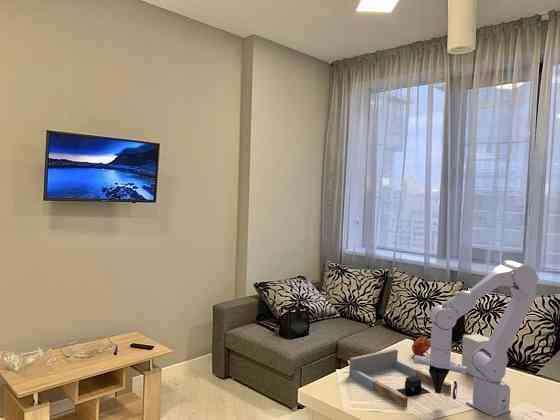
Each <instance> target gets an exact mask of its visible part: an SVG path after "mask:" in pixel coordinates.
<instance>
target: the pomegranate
mask: <svg viewBox="0 0 560 420" xmlns="http://www.w3.org/2000/svg"><path fill="white" fill-rule="evenodd" d="M411 340H413V342H412V344H411V350H412V353H413V354H414V356H416V355H417V356H424V354H425V353H426V354H427V356H428V357H430V353H428V351H429V349H430V347H431V340H429V339H428V338H425V337H418V338H417V339H416V338H414V337H411Z"/></svg>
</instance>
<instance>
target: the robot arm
mask: <svg viewBox="0 0 560 420" xmlns="http://www.w3.org/2000/svg"><path fill="white" fill-rule="evenodd" d="M539 279H540V278H539V276H538V274H537V272H536V271H535V269H534V267H532V266H531V265H529V264H524V263H520V262H518V261H515V260H513V259H508V260H505V261H503V262H502V263H501V264H499V265H497V266H495V268H494V269H493V270H492V271H491V272H490V273H489V274H487V275H486V276H484V278H482V279H481V280H480V281H479V282H478V283H476V284H475V285H474V286H472V287H471V288H470V289H469V290H460V291H459V290H457V291H456V292H454V295H453V296H452V297H450V298H448V300H446V301H442V302H441V304H440V305H435V306H433V308H431V311H430V312H429V314H428V316H429V319H430V320H431V331H430V333H431V334H430V342H431V347H430V348H429V349H430V351H429V355H430V356H424V355H423V356H417V355H414V358H413V364H416V365H418V364H419V365H422V366H427V367H428V374H430V375H431V377H432V380H433V383H434V386H433V387H434V394H435V393H436V394H439V395H440V394H441V392H442V390H441V389H442V385H443V383H444V381H445V379H446V378H447V376H448V375H449V372H454V373H458V374H461V375H463V376H466V374H467V373H466V368H467V367H466V366H463V365H462V364H459V363H457V362H454V361H451V355H452V354H451V353H452V338H453V337H452V336H453V328H454V327H455V325H457V322H458V321H457V320H459V319H460V318H461V317H462V316H464V315H465V314H467V313H469V312H470V311H471V310H472V309H474V308H475V307H476V303H477V301H478V300H479V299H481V298H483V297H484V296H486V295H487V294H489V293H491V292H492V291H494V290H496V289H497V288H498V287H500V286H501V287H509V289H510V292H511V293H512V297H511V298H510V300H509V302H508V303H507V305H506V308H505V310H504V311H503V314H502V315H501V317H500V319H499V320H498V322H497V324H496V326H495V327H494V330H493V332H492V333H491V336H489V341H488V342H485V343H483V344H481V346H480V348H479V349H478V350H476V351H475V352H474V353H473V354H472V357H471V362H472V364H473V366H474V367H475V371H474V376H473V382H472V383H473V385H472V399H469V400H465V403H466V404H467V405H469V406H471V407H473V408H475V409H477V410H480V411H481V412H483V413H486V414H488V415H489V416H491V417H494V418H495V417H498V416H501V415H503V414H506V413H509V412H510V411H511V408H510V400H511V388H510V386H509V385H508V384H507V383H505V382H504V381H503V380H502V379H503V378H504V377H505V375H506V373H507V372H506V370H507V369H506V368H507V365H508V363H509V358H508V353H507V352H508V350H509V348H510V346H511V344H512V343H513V341H514V339H515V337H516V336H517V333H518V331H519V329H520V328H521V326H522V324H523V322H524V321H525V319H526V317H527V315H528V313H529V311H530V310H531V308H532V306H533V304H534V302H535V300H536V299H537V297H536V295H537V294H536V293H537V283H538V281H539Z"/></svg>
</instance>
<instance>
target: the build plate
mask: <svg viewBox="0 0 560 420" xmlns="http://www.w3.org/2000/svg"><path fill="white" fill-rule="evenodd" d="M422 383H423V381H422V380H421V379H419V378H417V377H415V376H411V377H410V376H409V377H405V380H404V387H402V388H397V389H396V391H397V392H399V393H401V394H402V395H404V396H406V397H408V398H411V397H416V396H421V395H426V394H431V391H429V390H427V389H426V388H424V387H423V386H422V385H423V384H422Z"/></svg>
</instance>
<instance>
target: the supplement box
mask: <svg viewBox="0 0 560 420" xmlns="http://www.w3.org/2000/svg"><path fill="white" fill-rule="evenodd" d="M489 339H490V337H488V336H487V337H486V336H484V335H481V334H479V333H477V334H476V333H475V334H467V335H462V350H461V353H462V354H461V365H463V366H466V367H467V368H466V374H469V375H470V376H473V377H474V371H475V367H474V366H473V364H472V362H471V357H472V354H473V353H474V352H475V351H476V350H478V349H479V348H480V346H481V344H483V343H485V342H488V341H489Z"/></svg>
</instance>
